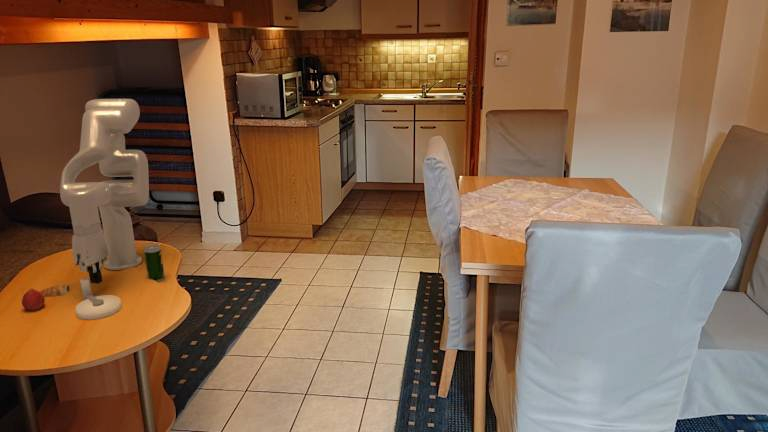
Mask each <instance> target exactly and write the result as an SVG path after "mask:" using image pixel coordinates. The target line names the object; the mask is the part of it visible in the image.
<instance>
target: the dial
mask: <svg viewBox="0 0 768 432" xmlns="http://www.w3.org/2000/svg"><path fill="white" fill-rule="evenodd" d="M79 281H80V288H81V292H82V294H81V295H82V298H83V300H82V301H80V302H79V303H78V304H77V305H76V306H75V312H76V317H78V318H79V319H81V320H88V321H89V320H91V321H92V320H99V319H104V318H107V317H111V316H112V315H114V314H116V313H118V312H119V311H120V310H121V308H122V301H121V298H120V297H119V296H117V295H112V294H105V295H104V294H101V295H96V296H94V295H93V294H92V288H91V282H90V278H82V279H80V280H79Z"/></svg>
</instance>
